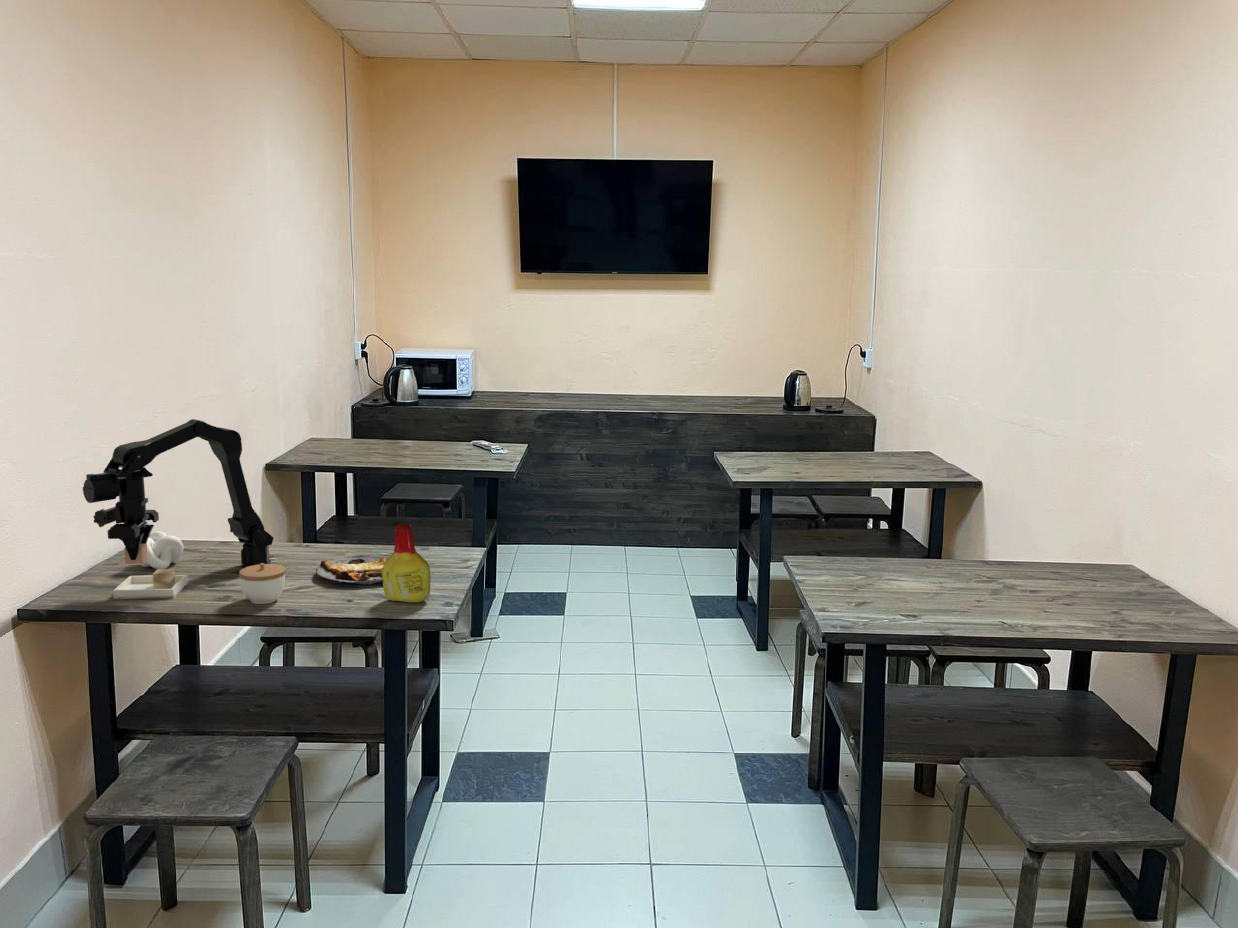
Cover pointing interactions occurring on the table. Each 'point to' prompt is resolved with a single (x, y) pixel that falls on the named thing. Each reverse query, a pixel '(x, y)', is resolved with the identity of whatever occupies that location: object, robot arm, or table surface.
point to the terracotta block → (141, 555)
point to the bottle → (405, 570)
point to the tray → (147, 588)
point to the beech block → (164, 578)
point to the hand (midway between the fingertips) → (136, 557)
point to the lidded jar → (262, 582)
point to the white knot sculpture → (162, 550)
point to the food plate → (353, 569)
